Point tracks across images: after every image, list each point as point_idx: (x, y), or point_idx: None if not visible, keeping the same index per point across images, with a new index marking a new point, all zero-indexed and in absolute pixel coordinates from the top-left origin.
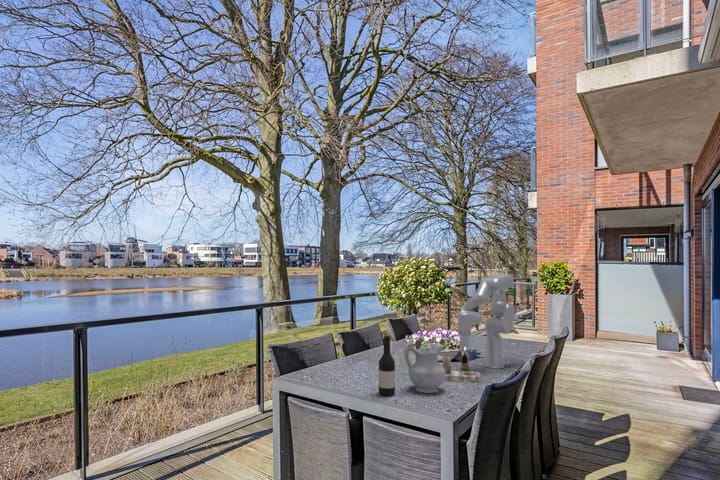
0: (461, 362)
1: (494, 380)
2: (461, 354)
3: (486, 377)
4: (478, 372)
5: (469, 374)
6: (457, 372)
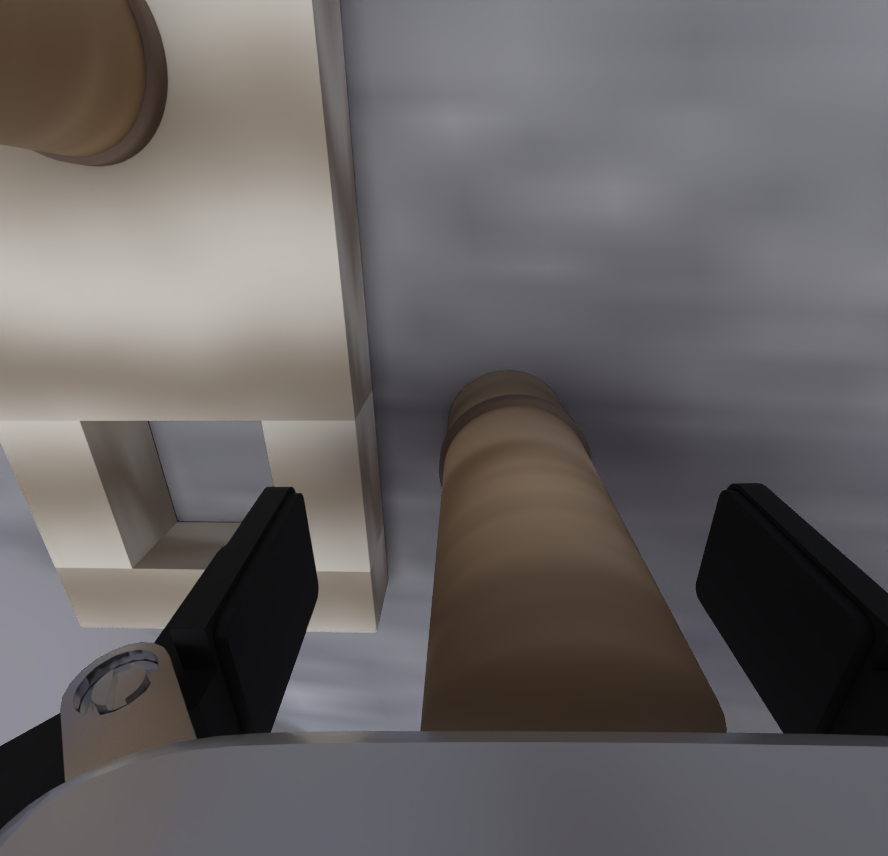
0: (503, 463)
1: (290, 701)
2: (527, 635)
3: (392, 650)
4: (335, 628)
5: None
6: (210, 313)
